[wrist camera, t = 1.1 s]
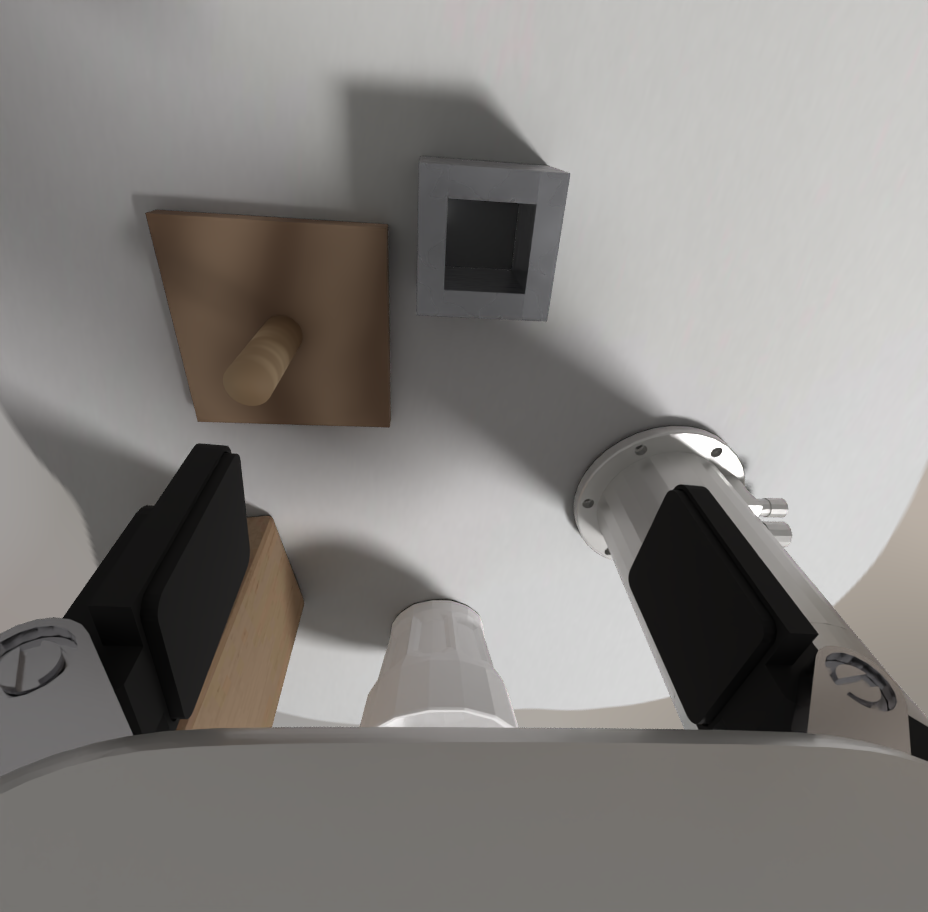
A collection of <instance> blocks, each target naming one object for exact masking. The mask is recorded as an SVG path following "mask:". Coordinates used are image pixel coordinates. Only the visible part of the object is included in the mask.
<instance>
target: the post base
mask: <svg viewBox="0 0 928 912" xmlns="http://www.w3.org/2000/svg"><path fill="white" fill-rule="evenodd" d="M145 214H146V218H147V222H148V226H149V229H150V233H151V237H152V241H153V245H154V249H155V253H156V257H157V261H158V265H159V269H160V273H161V277H162V281H163V285H164V289H165V293H166V297H167V301H168V305H169V309H170V313H171V317H172V321H173V325H174V329H175V333H176V337H177V341H178V345H179V349H180V353H181V357H182V361H183V365H184V369H185V373H186V377H187V381H188V384H189V388H190V392H191V396H192V400H193V404H194V408H195V412H196V416H197V420H198V422H225V423H259V424H293V425H326V426H360V427H390V420H391V402H390V330H389V257H388V224H375V223H359V222H343V221H328V220H312V219H296V218H280V217H264V216H248V215H232V214H216V213H200V212H184V211H168V210H154V211H151V212H147V213H145Z"/></svg>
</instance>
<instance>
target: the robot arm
mask: <svg viewBox="0 0 928 912" xmlns="http://www.w3.org/2000/svg"><path fill="white" fill-rule="evenodd" d="M744 485H745V476H744V471H743V466H742V464H741V462H740V460H739V458H738V457H737V455H736V454H735V452H734V451H733V450H732V449H731V448H730V447H729V446H728V445H727V444H726V443H725V442H724V441H723V440H721V439H720V438H719V437H718V436H716V435H714V434H712V433H710V432H707V431H705V430H703V429H698V428H693V427H689V426H667V427H660V428H654V429H650V430H647V431H643V432H640V433H637V434H635V435H633V436H630V437H628V438H626V439H624V440H622V441H620V442H619V443H617V444H616V445H614V446H613V447H611V448H609V449H608V450H607V451H605V452H604V453H603V454H602V455H601V456H600V457H599V458H598V459H597V460H595V461H594V463H593V464H592V465H591V466H590V468H589V469H588V470H587V471H586V473H585V474H584V476H583V478H582V480H581V481H580V483H579V485H578V488H577V491H576V495H575V498H574V516H575V521H576V525H577V527H578V530H579V532H580V535H581V536H582V538H583V539H584V541H585V542H586V544H587V545H588V546H589V547H590V548H591V549H593V550H594V551H595V552H596V553H598V554H600V555H601V556H603V557H605V558H608V559H610V560H613V561H614V563H615V566H616V568H617V570H618V573H619V575H620V577H621V580H622V582H623V585H624V587H625V589H626V592H627V594H628V597H629V599H630V601H631V604H632V606H633V608H634V611H635V613H636V616H637V618H638V620H639V623H640V625H641V628H642V630H643V632H644V635H645V637H646V639H647V642H648V644H649V647H650V649H651V651H652V654H653V656H654V658H655V661H656V663H657V666H658V668H659V670H660V673H661V675H662V678H663V680H664V682H665V685H666V687H667V689H668V692H669V694H670V697H671V699H672V701H673V704H674V706H675V708H676V710H677V713H678V715H679V718H680V720H681V722H682V725H683V727H684V729H615V728H614V729H613V728H605V729H604V728H497V727H265V728H211V729H194V730H177V731H176V728H177V726H178V723H179V721H180V719H189V718H190V717H191V715H192V713H193V711H194V708H195V706H196V703H197V700H198V698H199V695H200V692H201V690H202V687H203V684H204V682H205V679H206V676H207V674H208V671H209V668H210V666H211V663H212V660H213V658H214V655H215V652H216V650H217V647H218V644H219V642H220V639H221V637H222V634H223V631H224V629H225V626H226V623H227V621H228V618H229V615H230V613H231V610H232V607H233V605H234V602H235V599H236V597H237V594H238V591H239V589H240V586H241V583H242V581H243V578H244V575H245V573H246V570H247V567H248V564H249V558H250V544H249V535H248V526H247V516H246V507H245V498H244V489H243V479H242V470H241V461H240V456H239V455H238V454H233V453H231V450H230V448H229V447H228V446H223V445H211V444H196V445H195V446H194V447H193V449H192V450H191V452H190V453H189V455H188V456H187V458H186V459H185V461H184V462H183V464H182V465H181V467H180V468H179V470H178V471H177V473H176V474H175V476H174V477H173V479H172V480H171V482H170V483H169V485H168V486H167V488H166V489H165V491H164V492H163V494H162V495H161V497H160V498H159V500H158V501H157V503H156V504H155V506H147V505H146V506H144V507H142V508H141V509H140V510H139V511H138V512H137V513H136V514H135V516H134V517H133V519H132V520H131V521H130V523H129V524H128V526H127V527H126V528H125V530H124V531H123V533H122V534H121V536H120V537H119V538H118V540H117V541H116V543H115V544H114V546H113V547H112V548H111V550H110V551H109V553H108V554H107V556H106V557H105V558H104V560H103V561H102V563H101V564H100V566H99V567H98V568H97V570H96V571H95V573H94V574H93V575H92V577H91V578H90V580H89V581H88V583H87V584H86V586H85V587H84V588H83V590H82V591H81V593H80V594H79V596H78V597H77V598H76V600H75V601H74V603H73V604H72V605H71V607H70V608H69V610H68V611H67V613H66V614H65V615H64V617H63V618H54V617H53V618H45V619H37V620H33V621H30V622H27V623H24V624H20V625H17V626H15V627H13V628H11V629H9V630H7V631H5V632H3V633H1V634H0V912H928V717H927V716H926V715H925V714H924V713H923V712H922V711H921V710H920V708H919V707H918V706H917V705H916V704H915V703H914V702H913V700H912V699H911V698H910V697H909V696H908V695H907V694H906V693H905V691H904V690H903V689H902V688H901V687H900V686H899V685H898V684H897V682H896V681H895V680H894V679H893V678H892V676H891V675H890V674H889V673H888V672H887V671H886V669H885V668H884V667H883V666H882V665H881V664H880V662H879V661H878V660H877V659H876V658H875V656H874V655H873V654H872V653H871V652H870V650H869V649H868V648H867V647H866V646H865V644H864V643H863V642H862V641H861V640H860V639H859V638H858V636H857V635H856V634H855V633H854V632H853V630H852V629H851V628H850V627H849V626H848V624H847V623H846V622H845V621H844V620H843V618H842V617H841V616H840V615H839V614H838V612H837V611H836V610H835V609H834V608H833V606H832V605H831V604H830V603H829V602H828V600H827V599H826V598H825V597H824V596H823V594H822V593H821V592H820V591H819V590H818V588H817V587H816V586H815V585H814V584H813V582H812V581H811V580H810V579H809V578H808V576H807V575H806V574H805V573H804V572H803V570H802V569H801V568H800V567H799V566H798V564H797V563H796V562H795V561H794V560H793V558H792V557H791V556H790V555H789V554H788V552H787V551H786V550H785V549H784V548H783V547H787V546H788V545H789V544H790V543H791V539H792V532H791V529H790V527H789V525H788V524H786V523H785V522H765V521H761V520H760V519H759V518H758V516H764V517H785V516H786V515H787V512H788V504H787V503H786V501H785V500H784V499H780V498H764V499H756V498H755V497H754V496H753V495H752V494H751V493H750V492H749V491H748V490H747V489H746V487H745V486H744Z"/></svg>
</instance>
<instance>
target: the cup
mask: <svg viewBox="0 0 928 912" xmlns="http://www.w3.org/2000/svg"><path fill="white" fill-rule="evenodd" d="M484 636H485V635H484V626H483V623H482V620H481V618H480V616H479V615H478V614H477V613H476V612H475V611H474V610H472V609H471V608H469V607H468V606H466V605H463V604H460V603H457V602H454V601H449V600H431V601H426V602H421V603H418V604H414V605H412V606H410V607H409V608H407V609H406V610H404V611H403V612H401V613H400V614H399V615H398V616H397V618H396V619H395V621H394V622H393V624H392V628H391V636H390V639H389V643H388V646H387V650H386V653H385V657H384V660H383V664H382V667H381V670H380V674H379V677H378V680H377V682H376V683H375V685H374V686H373V688H372V689H371V691H370V692H369V694H368V697H367V701H366V705H365V708H364V712H363V716H362V720H361V724H360V727H497V728H519V727H518V724H517V721H516V717H515V714H514V710H513V707H512V703H511V700H510V697H509V694H508V691H507V689H506V687H505V684H504V682H503V680H502V678H501V677H500V676H499V674H498V673H497V671H496V670H495V669H494V667H493V664H492V660H491V657H490V654H489V651H488V648H487V644H486V641H485V638H484Z"/></svg>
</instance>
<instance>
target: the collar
mask: <svg viewBox="0 0 928 912" xmlns="http://www.w3.org/2000/svg"><path fill="white" fill-rule="evenodd" d="M569 179H570V173H568V172H565V171H562V170H559V169H556V168H554V167H551V166H548V165H534V164H521V163H507V162H494V161H480V160H467V159H454V158H440V157H427V156H421V157H420V161H419V193H418V256H417V315H425V316H446V317H467V318H487V319H508V320H529V321H547V317H548V311H549V305H550V298H551V292H552V286H553V279H554V273H555V267H556V261H557V254H558V248H559V242H560V235H561V229H562V223H563V216H564V210H565V204H566V198H567V191H568V185H569ZM448 198H451V199H465V200H480V201H495V202H510V203H519V207H518V216H517V225H516V233H515V242H514V251H513V260H512V269H511V270H507V269H489V268H472V267H454V266H445V253H446V230H447V208H448Z"/></svg>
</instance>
